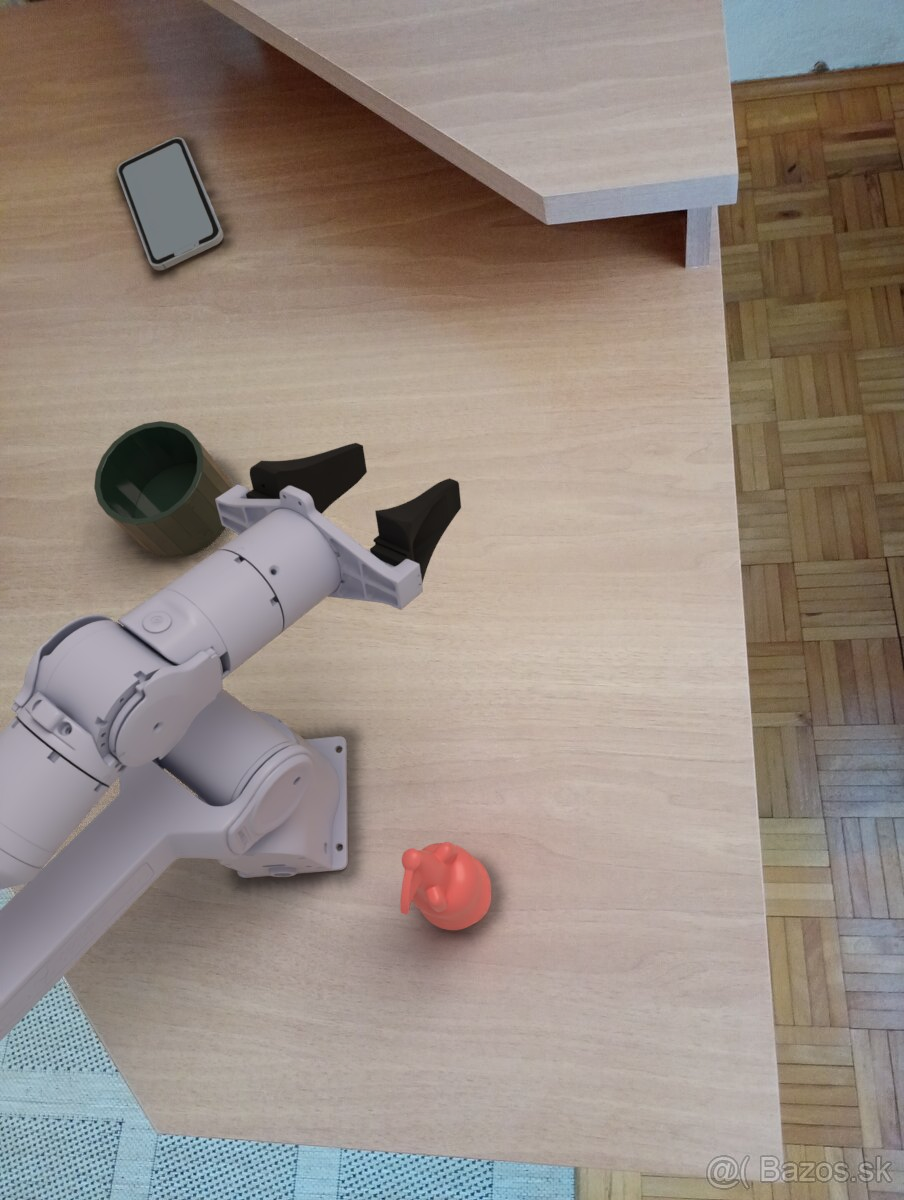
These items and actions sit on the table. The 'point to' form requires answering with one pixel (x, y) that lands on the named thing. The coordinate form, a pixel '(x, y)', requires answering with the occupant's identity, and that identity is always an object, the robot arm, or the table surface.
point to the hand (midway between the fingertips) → (406, 474)
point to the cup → (162, 489)
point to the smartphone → (169, 204)
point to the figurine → (445, 885)
